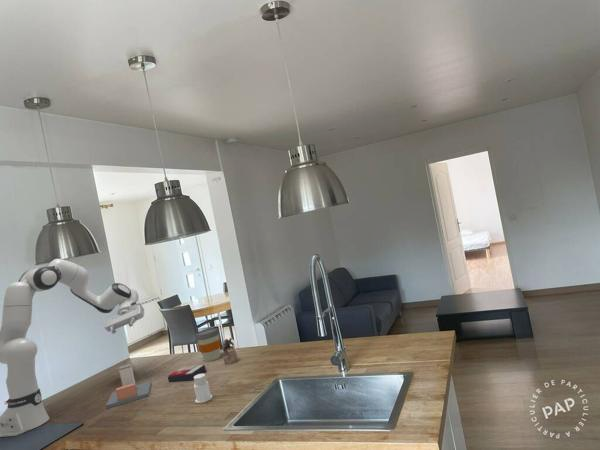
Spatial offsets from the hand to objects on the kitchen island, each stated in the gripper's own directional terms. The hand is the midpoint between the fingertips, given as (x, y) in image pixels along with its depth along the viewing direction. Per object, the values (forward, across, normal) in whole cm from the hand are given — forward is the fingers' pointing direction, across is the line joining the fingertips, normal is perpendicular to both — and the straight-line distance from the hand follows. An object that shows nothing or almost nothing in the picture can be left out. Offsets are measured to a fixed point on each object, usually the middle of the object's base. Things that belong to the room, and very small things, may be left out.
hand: (121, 329), depth 221 cm
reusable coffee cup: (0, +30, +40) cm, 50 cm away
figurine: (+14, +43, +35) cm, 57 cm away
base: (+28, -1, +18) cm, 33 cm away
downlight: (+53, +39, +13) cm, 67 cm away
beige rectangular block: (+24, -1, +18) cm, 30 cm away
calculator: (+21, +23, +28) cm, 42 cm away
